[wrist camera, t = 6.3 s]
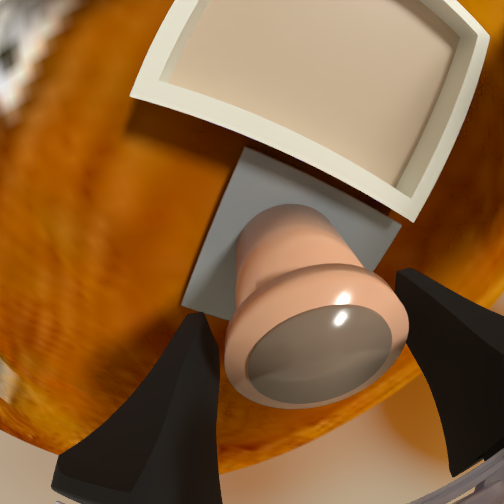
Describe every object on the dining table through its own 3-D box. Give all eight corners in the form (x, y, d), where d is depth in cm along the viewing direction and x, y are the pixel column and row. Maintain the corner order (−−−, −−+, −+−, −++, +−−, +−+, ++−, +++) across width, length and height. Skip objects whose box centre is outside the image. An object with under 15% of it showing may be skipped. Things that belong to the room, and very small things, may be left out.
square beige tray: (468, 38, 7) (490, 36, 6) (394, 208, 12) (413, 223, 10) (256, -85, 5) (259, -105, 3) (145, 97, 9) (129, 96, 8)
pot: (355, 203, 11) (439, 285, 6) (330, 301, 14) (371, 403, 8) (231, 192, 11) (227, 282, 5) (226, 299, 13) (223, 413, 8)
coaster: (396, 220, 12) (402, 225, 12) (317, 337, 16) (319, 344, 15) (244, 145, 11) (245, 147, 10) (182, 298, 14) (180, 305, 13)
